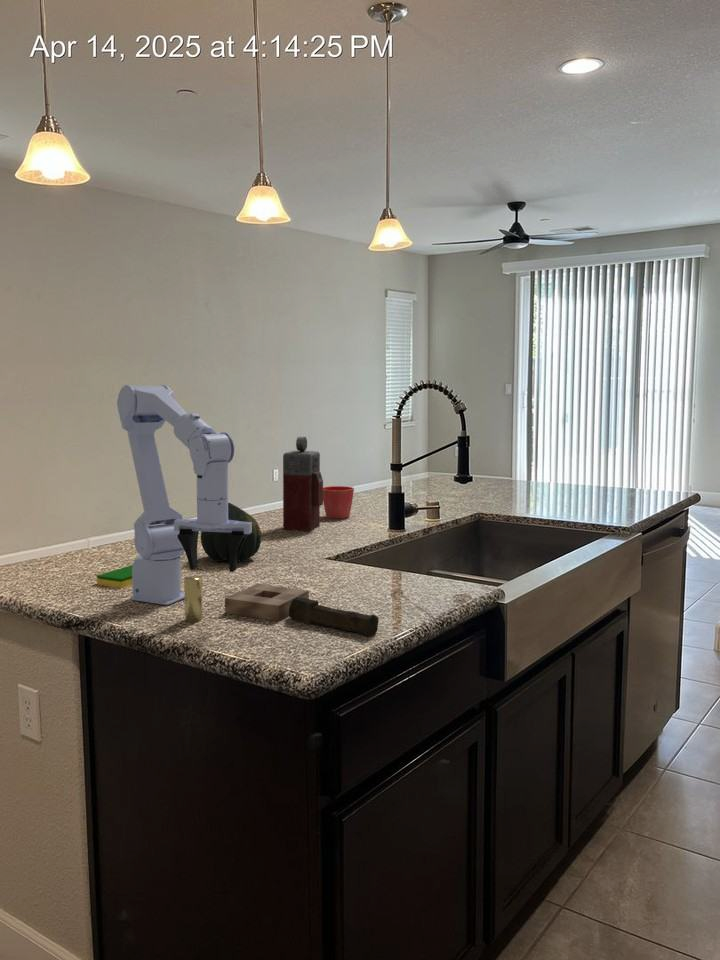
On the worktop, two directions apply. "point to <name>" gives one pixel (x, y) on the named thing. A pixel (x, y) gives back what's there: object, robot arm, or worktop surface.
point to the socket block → (263, 601)
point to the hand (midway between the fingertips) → (213, 569)
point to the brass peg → (193, 598)
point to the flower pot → (337, 501)
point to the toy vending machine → (302, 488)
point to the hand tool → (332, 617)
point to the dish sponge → (116, 578)
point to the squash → (218, 542)
